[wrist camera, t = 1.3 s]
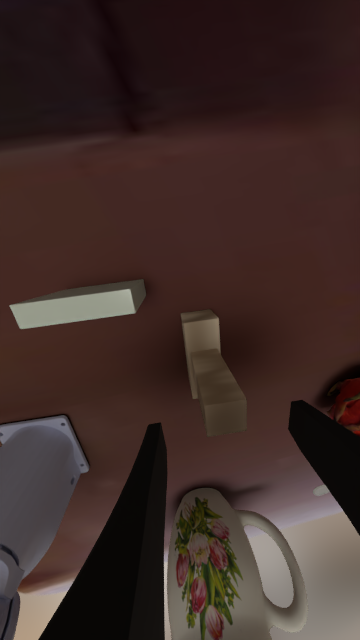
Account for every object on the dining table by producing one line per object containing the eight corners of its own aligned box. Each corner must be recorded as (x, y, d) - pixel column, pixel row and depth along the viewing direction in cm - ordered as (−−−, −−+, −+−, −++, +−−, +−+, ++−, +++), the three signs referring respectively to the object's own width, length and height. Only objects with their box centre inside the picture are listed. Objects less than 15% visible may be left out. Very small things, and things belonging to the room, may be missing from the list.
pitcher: (267, 502, 29) (352, 702, 16) (165, 531, 29) (164, 748, 16) (256, 461, 25) (353, 676, 12) (140, 495, 26) (113, 736, 13)
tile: (146, 295, 16) (135, 313, 11) (72, 305, 16) (20, 329, 10) (143, 279, 16) (130, 288, 10) (66, 289, 16) (9, 305, 10)
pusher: (210, 309, 17) (252, 354, 9) (214, 375, 20) (250, 460, 11) (180, 313, 17) (193, 363, 9) (189, 379, 20) (205, 468, 11)
